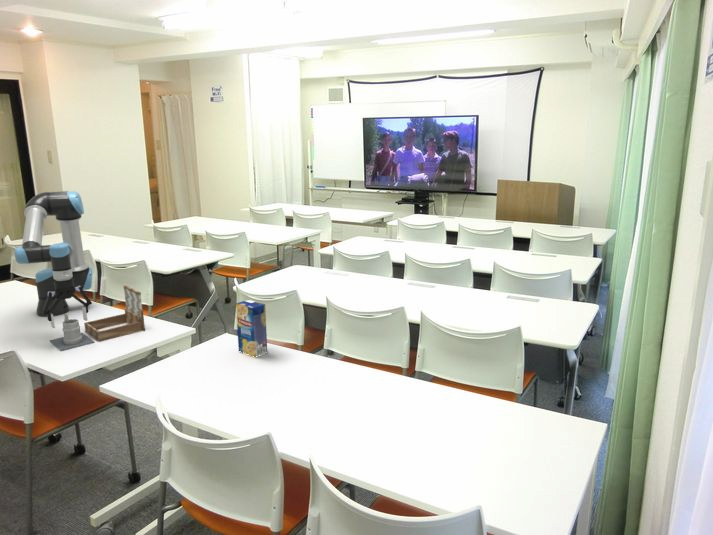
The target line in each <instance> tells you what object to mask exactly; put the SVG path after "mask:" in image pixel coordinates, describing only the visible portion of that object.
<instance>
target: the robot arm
mask: <svg viewBox="0 0 713 535" xmlns="http://www.w3.org/2000/svg"><path fill="white" fill-rule="evenodd" d="M84 213H85V208H84V204H83V201H82V197H81V195H80V193H78V192H77V191H68V190H66V191H49V192H48V191H47V192H46V191H45V192H40V193H38V194H36V195H34V196H32V198H30V200H28V202H27V203H26V205H25V206H24V212H23V215H24V217H25V222H24V228H23V235H22V236H23V237H22V242H21V246H18V247H16V248H15V249H14V258H15V261H16V263H17V264H19V265H20V264H22V265H23V264H25V265H26V264H27V265H28V264H36V263H37V264H39V263H50V264H51V268H50V267H49V268H45V269H42V270H39V271H37V272H36V274H35V286H36V291H37V292H36V293H37V297H38V302H37V306H36V310H35V312H36V315H37V316H39V317H47V322H48V321H49V322H50V327H51V328H52V329H56V326H55V318H54V317H55V316H59V315H64V314H67V313H68V312H69V311H70V306H69V304H68V302H67V300H68V299H69V300H70V299H71V298H74V299H75V300H76V301H78V303H80V304H82V306H81V308H82V316H83V317H82V318H83V320H84V321H85V322H88V315H87V314H89V311H90V310H89V306H90V305H92V304H93V302H92V300H90V298H89V296H88V295H87V294H86V292H84V291H87V290H90V289H92V285H93V268H92V267H89V264H88V263H87V262H85V261H86V260H85V255H84V248H83V241H82V234H81V226H80V220H81V218H82V215H83V214H84ZM48 216H51V217H52V216H55V220H56V221H58V222H59V225H60V230H61V231H60V232H61V237H62V242H58V243H52V244H47V245H42V244H43V235H44V234H43V233H44V223H45V220H46V219H47V217H48ZM76 292H78V293H79V294H80V295H81V296H82V298H83V299H84V300H85V301H86V302H85V301H84V300H82V299H81V298H80V297H79V296H77V295H76V294H75V293H76Z"/></svg>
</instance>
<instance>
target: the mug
mask: <svg viewBox="0 0 713 535" xmlns="http://www.w3.org/2000/svg"><path fill="white" fill-rule="evenodd" d="M63 315H64V316H63V317H64V321H62V332H63V337H64V338H63V341H64V343H65V344H66V345H74V344H78V343H80V342H81V341H82V335H81V333H82V332H81V326H80V322H79V319H78V318H77V319H76V318H73V319H69V316H68V315H69V314H68V313H64V314H63Z"/></svg>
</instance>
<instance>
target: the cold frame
mask: <svg viewBox="0 0 713 535" xmlns="http://www.w3.org/2000/svg"><path fill="white" fill-rule="evenodd" d="M123 291H124V300H125V301H124V302H125V309H124V313H122V314H118V315H113V316H109V317H104V318H100V319H95V320H92V321H85V322H84V331H85V333H87V335H89V336H90V337H92V338H93V339H95V340H96V341H98V343H100V342H103V341H107V340H111V339H114V338H118V337H123V336H127V335H130V334H136V333H139V332H146V325H145V318H144V317H145V316H144V311H143V303H142V294H141V293H142V292H141V291H139V290H137V289H134V288H132V287H131V286H128V285H126V284H124V285H123ZM122 324H123V325H122ZM124 324H125V325H124ZM118 325H119V326H118ZM115 326H116V327H115ZM108 327H109V328H108ZM110 327H112V328H110ZM105 328H108V329H105ZM101 329H103V330H101Z"/></svg>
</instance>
